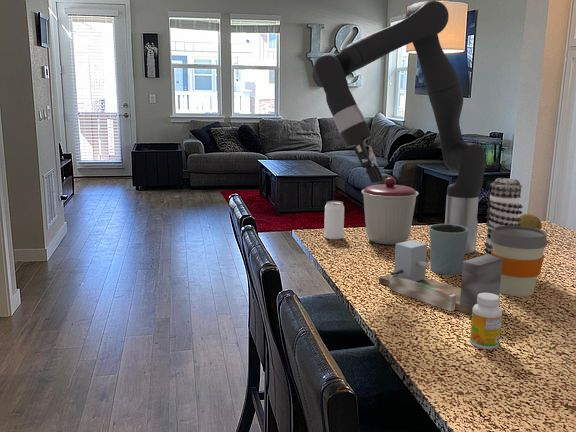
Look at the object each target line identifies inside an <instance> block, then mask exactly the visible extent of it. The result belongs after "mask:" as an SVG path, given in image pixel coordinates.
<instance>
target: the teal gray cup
mask: <svg viewBox="0 0 576 432" xmlns="http://www.w3.org/2000/svg"><path fill="white" fill-rule="evenodd" d="M468 231H469V229H468V228H466V227H464V226H460V225H455V224H445V223H436V224H432V225H430V226H429V240H430V241H429V242H430V243H429V245H430V246H429V252H430V254H429V258H430V262H429V268H430V270H431V271H432V272H433V273H436V274H439V275H445V276H446V275H447V276H455V275H460V274H462V270H463V261H465V256H466V254H465V249H466V242H467V237H468Z"/></svg>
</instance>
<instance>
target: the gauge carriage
mask: <svg viewBox="0 0 576 432" xmlns="http://www.w3.org/2000/svg"><path fill="white" fill-rule="evenodd" d="M394 246H395V247H394V266H393V267H394V268H393V271H392V272H391V273H390V274H391V275H392V276H393V275H398V276H400V277H403V278H406V279H409V280H412V281H415V282H416V281H419V280H423V279H425V278H426V269H428V268H430V262H429V263H428V262H427V252H428V243H424V242H420V241H417V240H413V239H411V240H406V241H405V242H401V243H397V244H394Z"/></svg>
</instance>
